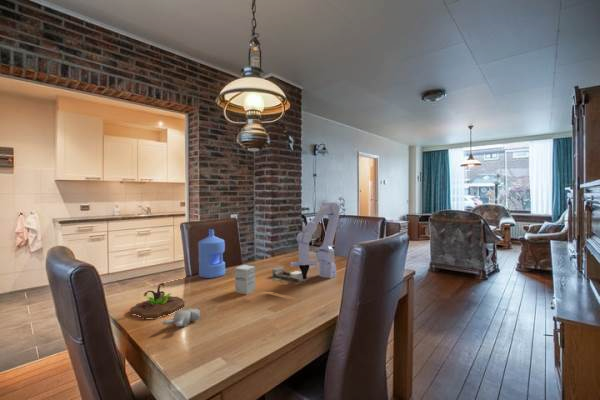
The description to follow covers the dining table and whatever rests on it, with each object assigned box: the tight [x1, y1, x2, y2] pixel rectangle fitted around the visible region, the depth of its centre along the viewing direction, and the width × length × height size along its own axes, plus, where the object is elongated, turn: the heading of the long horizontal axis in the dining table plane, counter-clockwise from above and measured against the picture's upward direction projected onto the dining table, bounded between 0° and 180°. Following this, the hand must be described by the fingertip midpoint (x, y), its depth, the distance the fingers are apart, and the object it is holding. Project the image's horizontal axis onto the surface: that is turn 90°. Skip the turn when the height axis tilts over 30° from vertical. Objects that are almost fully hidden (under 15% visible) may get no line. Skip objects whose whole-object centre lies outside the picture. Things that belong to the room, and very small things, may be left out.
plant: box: [129, 282, 186, 319], centre depth 125 cm, size 20×20×11 cm
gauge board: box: [266, 266, 311, 286], centre depth 161 cm, size 22×13×5 cm, turn 54°
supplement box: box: [234, 264, 256, 295], centre depth 144 cm, size 7×7×13 cm
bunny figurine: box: [162, 308, 201, 327], centre depth 110 cm, size 10×5×15 cm
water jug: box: [197, 228, 227, 279], centre depth 175 cm, size 16×16×28 cm
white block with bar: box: [285, 270, 303, 280], centre depth 158 cm, size 5×10×4 cm, turn 144°
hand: (304, 278), depth 156 cm, fingers closed
